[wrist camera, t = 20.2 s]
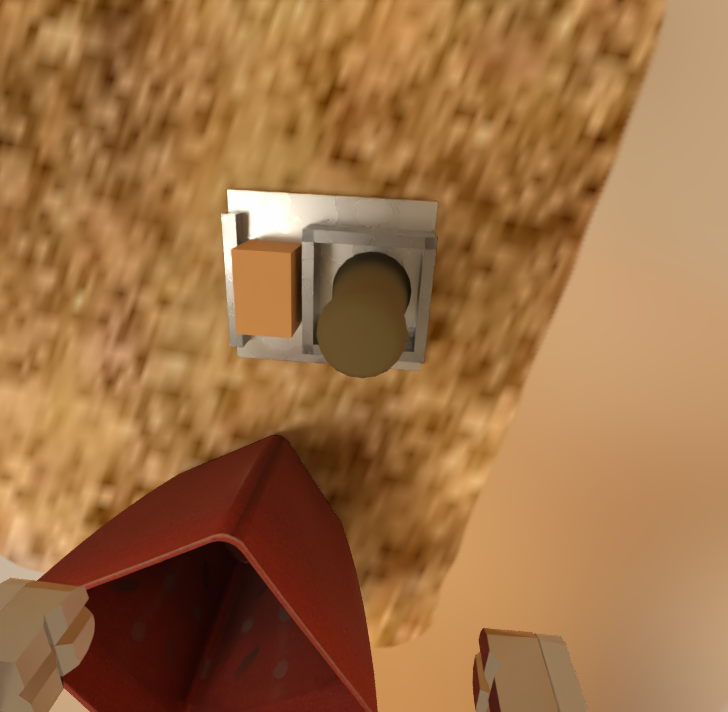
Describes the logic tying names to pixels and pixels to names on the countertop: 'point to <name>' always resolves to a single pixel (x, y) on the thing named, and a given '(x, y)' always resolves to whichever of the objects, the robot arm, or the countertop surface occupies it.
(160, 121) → the countertop surface
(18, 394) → the countertop surface
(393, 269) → the cork
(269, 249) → the bracket block
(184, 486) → the plant pot
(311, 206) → the grey tray with frame
